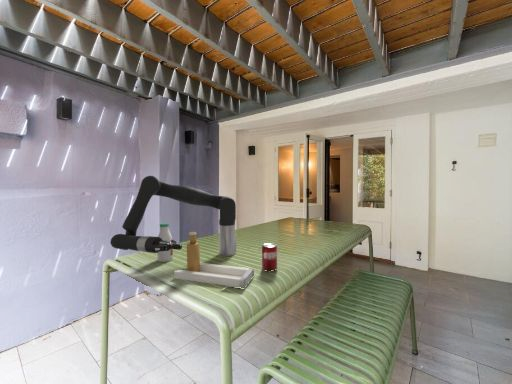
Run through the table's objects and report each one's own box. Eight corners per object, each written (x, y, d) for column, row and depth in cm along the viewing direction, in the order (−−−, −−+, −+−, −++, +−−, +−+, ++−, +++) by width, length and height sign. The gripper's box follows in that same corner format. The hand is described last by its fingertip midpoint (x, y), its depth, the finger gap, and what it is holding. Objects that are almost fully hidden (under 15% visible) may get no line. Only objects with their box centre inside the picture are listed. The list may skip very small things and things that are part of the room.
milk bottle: (167, 262, 125) (166, 225, 124) (154, 261, 127) (153, 224, 126) (175, 258, 133) (174, 222, 132) (163, 257, 134) (162, 221, 133)
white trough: (174, 280, 104) (174, 271, 103) (190, 269, 116) (190, 261, 116) (244, 289, 94) (244, 280, 94) (253, 277, 107) (253, 268, 106)
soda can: (261, 267, 119) (261, 243, 118) (275, 266, 119) (275, 242, 118) (262, 272, 111) (262, 247, 111) (278, 272, 112) (278, 246, 111)
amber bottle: (193, 270, 112) (193, 230, 111) (202, 273, 109) (201, 232, 108) (184, 275, 107) (183, 233, 106) (193, 277, 104) (192, 234, 103)
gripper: (138, 239, 108) (171, 242, 103) (158, 233, 121) (188, 235, 116) (139, 256, 108) (172, 259, 103) (159, 248, 121) (189, 250, 116)
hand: (180, 246), depth 109 cm, fingers closed
